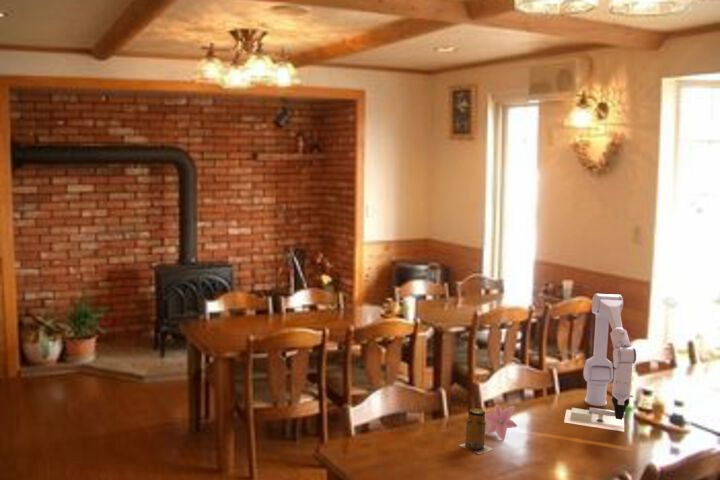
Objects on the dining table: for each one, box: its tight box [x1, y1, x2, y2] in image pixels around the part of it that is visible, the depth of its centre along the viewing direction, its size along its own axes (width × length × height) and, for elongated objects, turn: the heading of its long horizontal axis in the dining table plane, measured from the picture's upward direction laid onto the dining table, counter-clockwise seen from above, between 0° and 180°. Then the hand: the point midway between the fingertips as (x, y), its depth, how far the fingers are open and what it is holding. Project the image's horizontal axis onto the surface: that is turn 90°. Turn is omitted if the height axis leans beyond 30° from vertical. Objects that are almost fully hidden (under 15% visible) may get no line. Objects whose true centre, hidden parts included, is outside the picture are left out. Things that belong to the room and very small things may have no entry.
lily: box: [485, 403, 518, 442], centre depth 246 cm, size 12×12×10 cm
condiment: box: [458, 408, 494, 455], centre depth 233 cm, size 7×8×12 cm
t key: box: [588, 406, 626, 421], centre depth 259 cm, size 2×12×4 cm, turn 71°
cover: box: [570, 407, 592, 422], centre depth 262 cm, size 5×7×2 cm
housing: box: [563, 409, 625, 433], centre depth 260 cm, size 14×20×1 cm
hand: (618, 418), depth 254 cm, fingers closed
